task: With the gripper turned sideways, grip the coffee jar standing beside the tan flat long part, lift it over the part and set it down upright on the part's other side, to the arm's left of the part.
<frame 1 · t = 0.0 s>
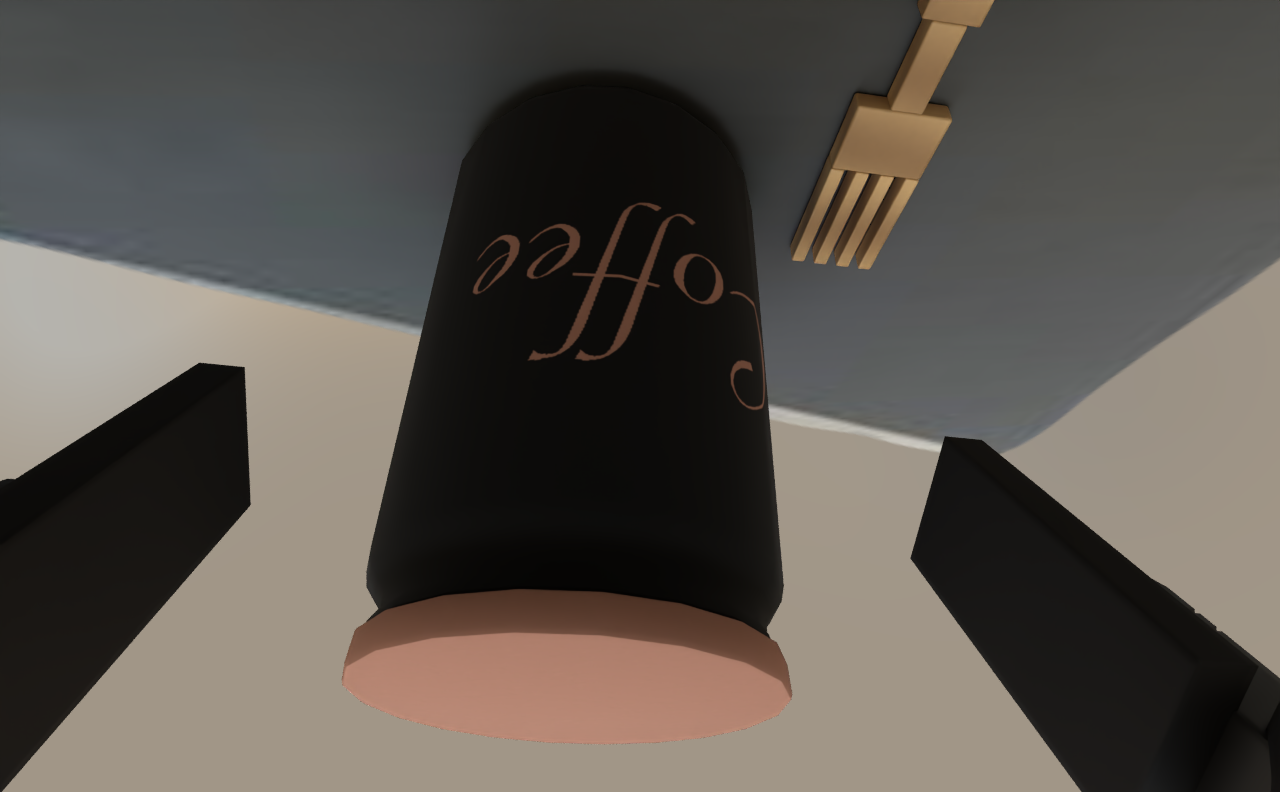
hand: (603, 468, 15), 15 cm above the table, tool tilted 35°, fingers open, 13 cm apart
coffee jar: (605, 193, 29), on the table
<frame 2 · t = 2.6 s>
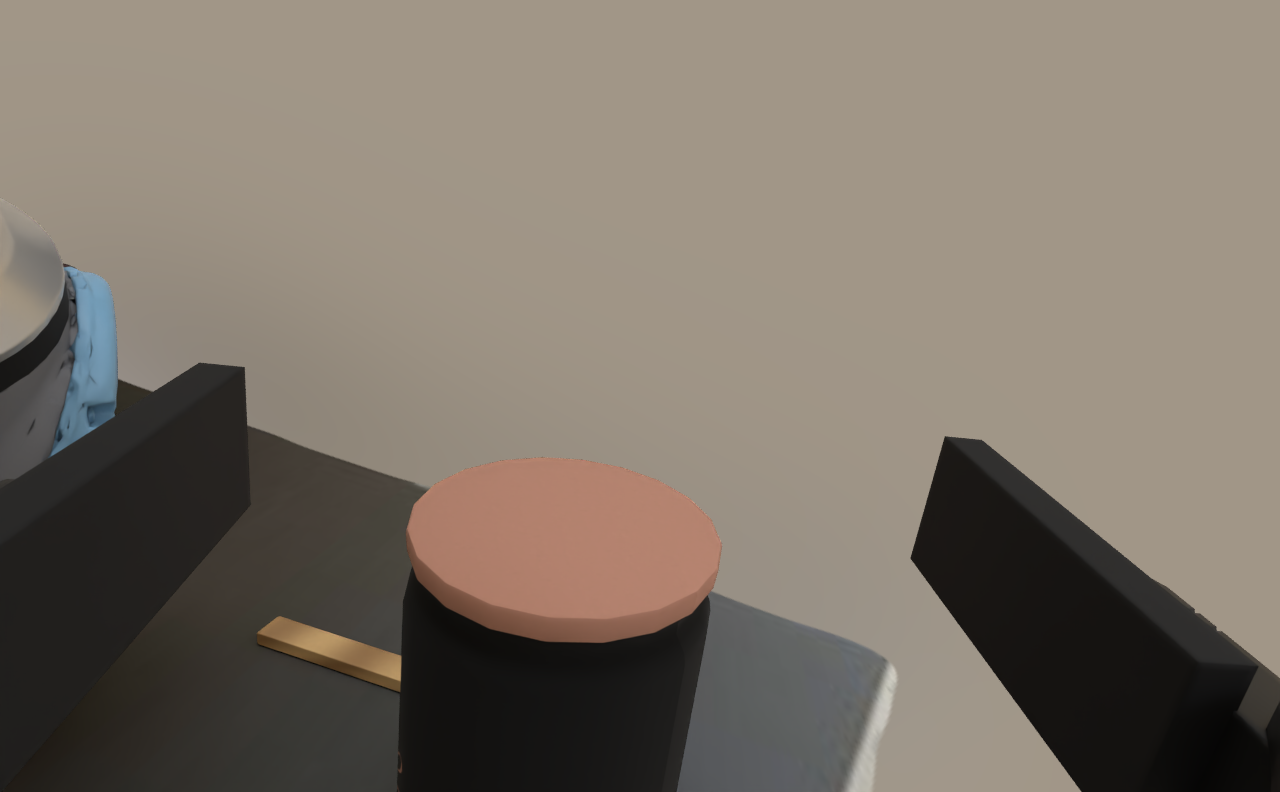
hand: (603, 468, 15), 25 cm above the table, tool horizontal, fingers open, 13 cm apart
tan flat long part: (434, 691, 43), on the table
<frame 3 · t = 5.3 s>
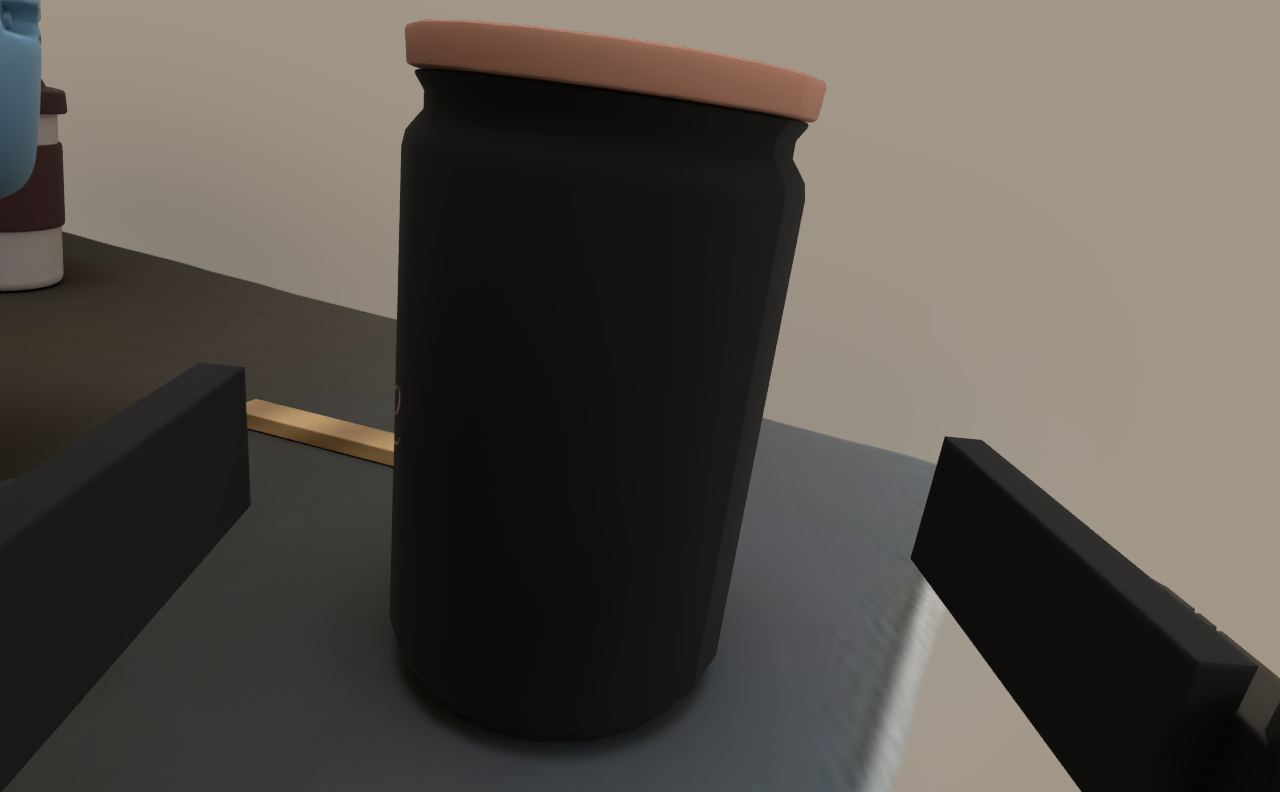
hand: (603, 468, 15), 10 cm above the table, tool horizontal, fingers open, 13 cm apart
coffee cup: (1, 283, 55), on the table
coffee jar: (555, 641, 26), on the table
tan flat long part: (438, 468, 36), on the table
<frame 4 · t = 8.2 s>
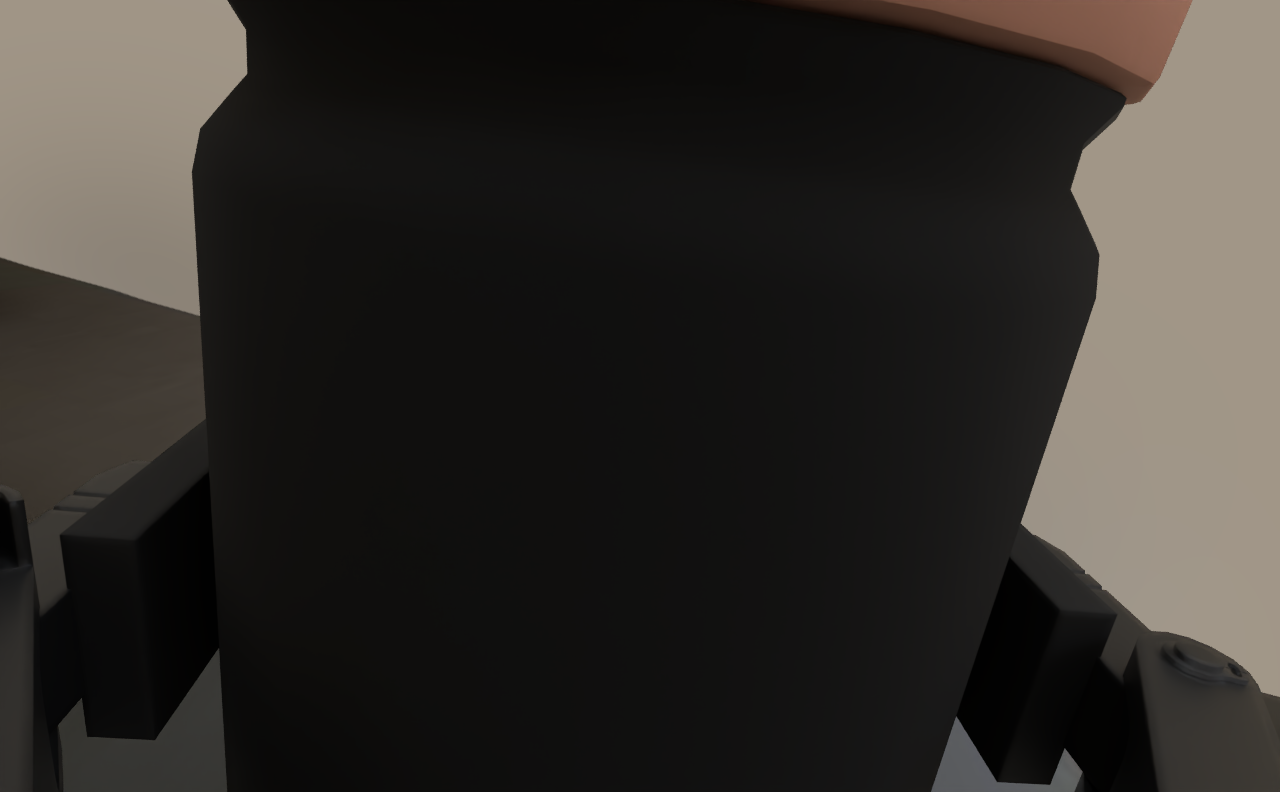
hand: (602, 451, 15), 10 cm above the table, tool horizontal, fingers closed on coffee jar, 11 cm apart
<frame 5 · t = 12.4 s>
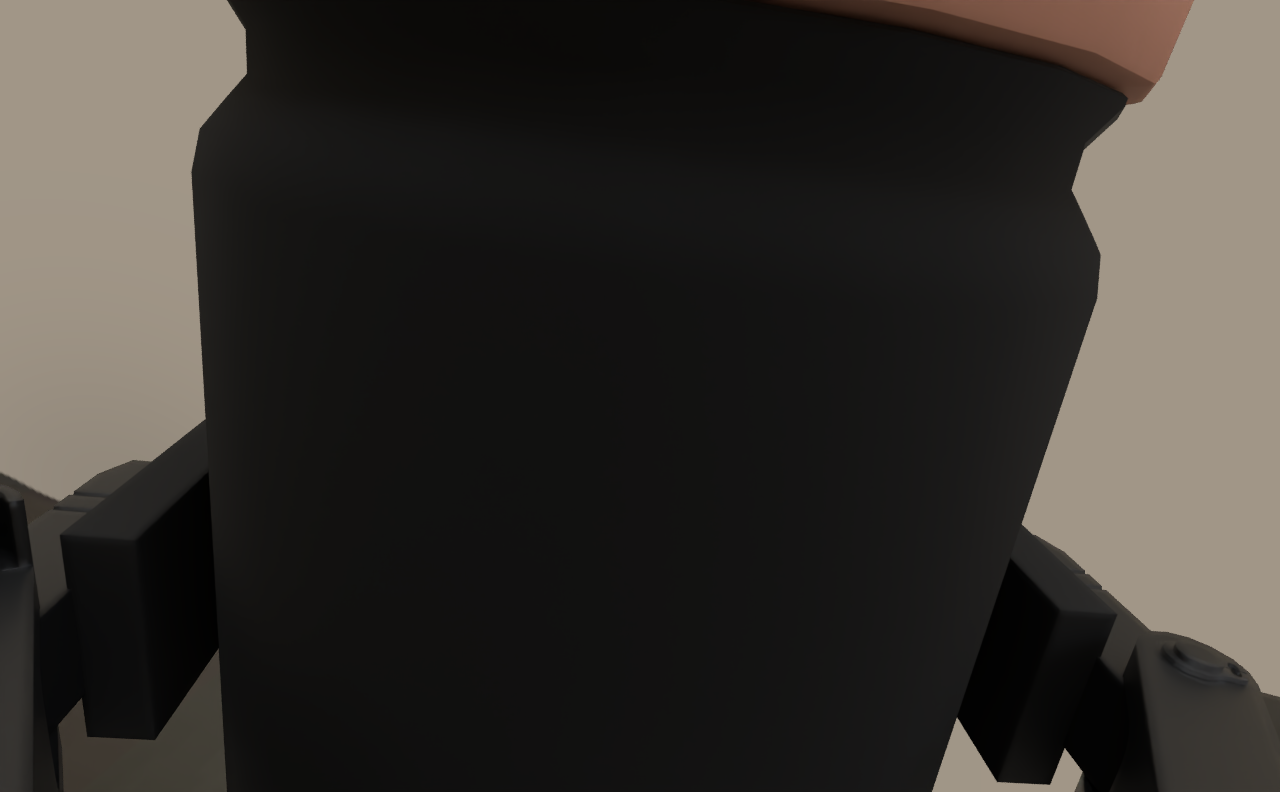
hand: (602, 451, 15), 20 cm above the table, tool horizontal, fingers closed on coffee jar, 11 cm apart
when the fingers open (10 cm above the table, at t = 17.0 s): coffee jar stays where it is, on the table.
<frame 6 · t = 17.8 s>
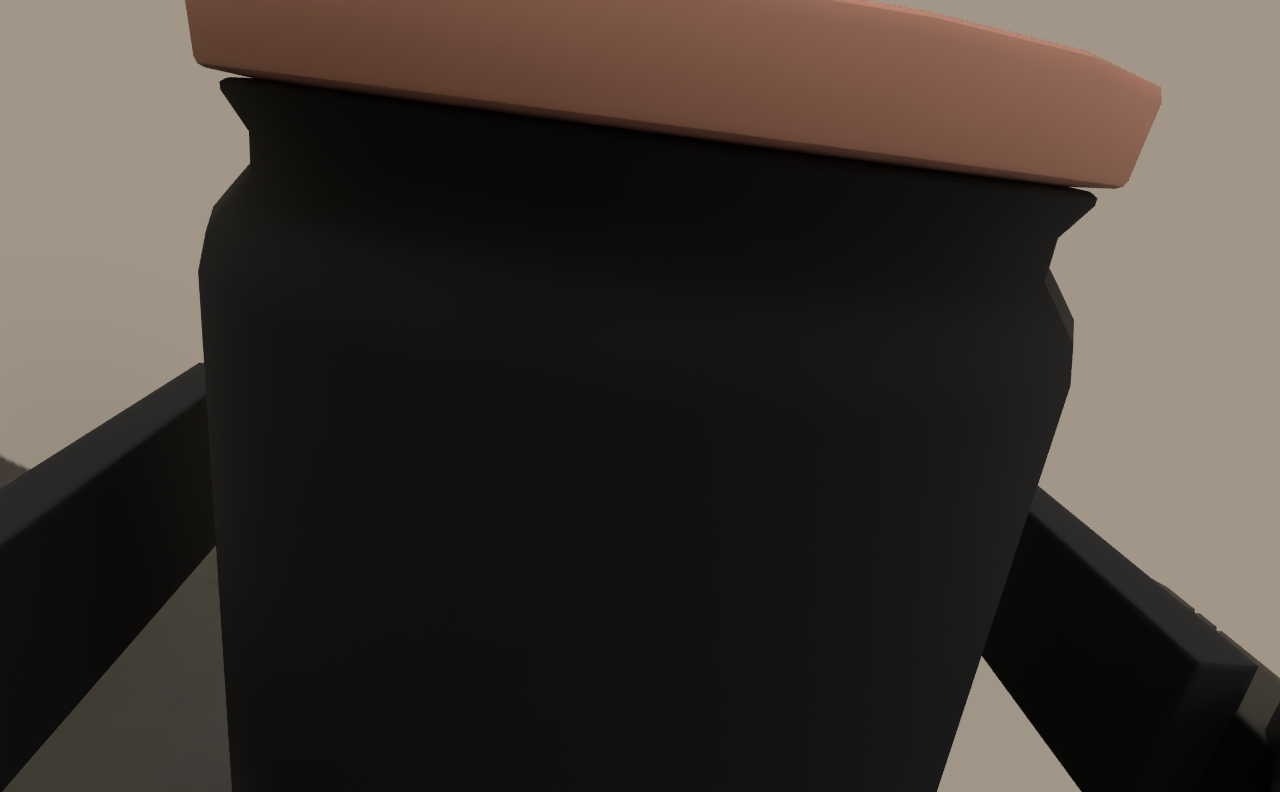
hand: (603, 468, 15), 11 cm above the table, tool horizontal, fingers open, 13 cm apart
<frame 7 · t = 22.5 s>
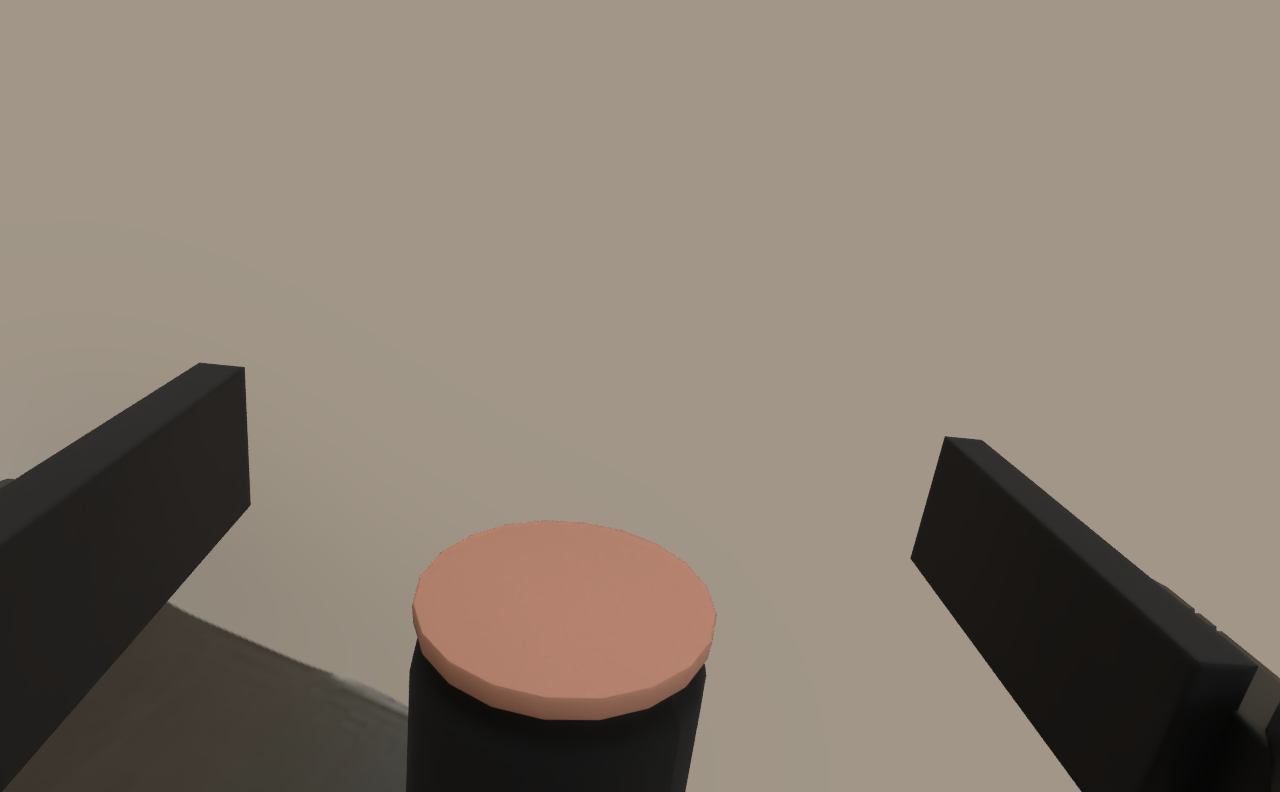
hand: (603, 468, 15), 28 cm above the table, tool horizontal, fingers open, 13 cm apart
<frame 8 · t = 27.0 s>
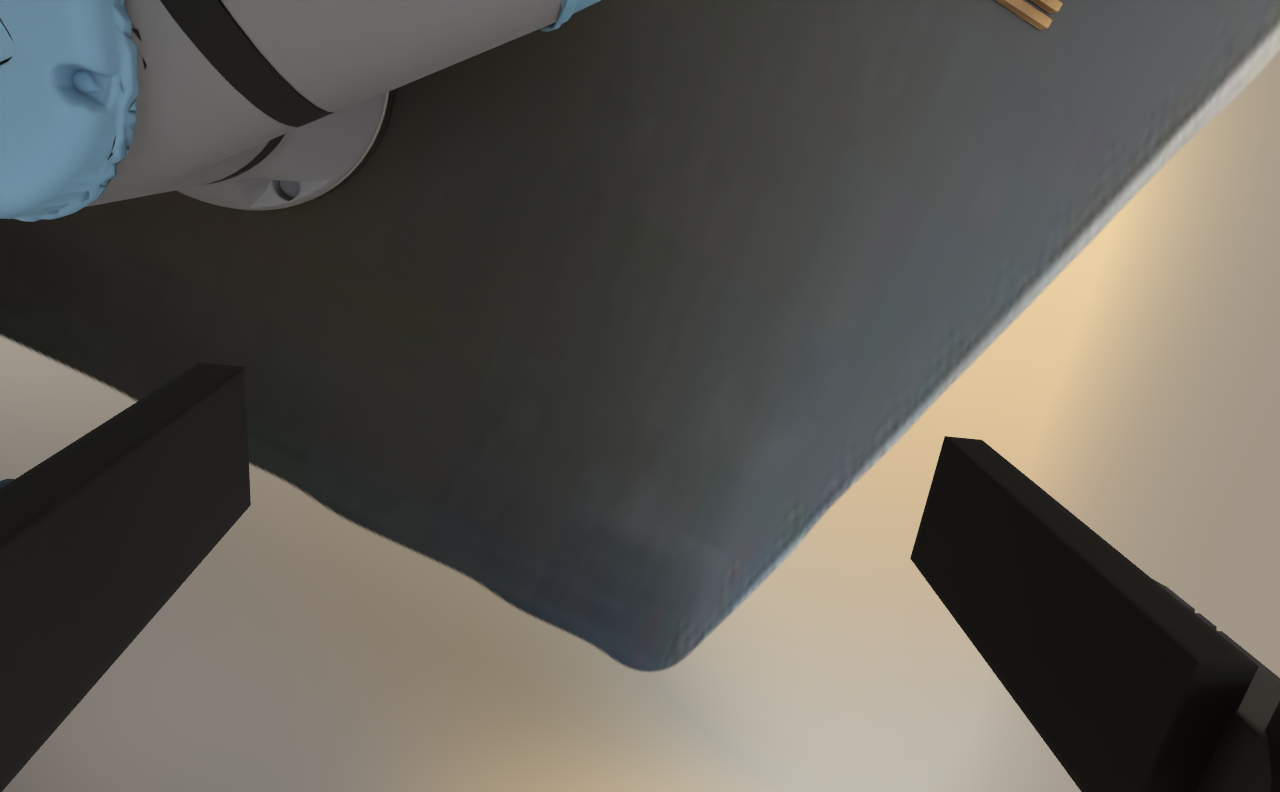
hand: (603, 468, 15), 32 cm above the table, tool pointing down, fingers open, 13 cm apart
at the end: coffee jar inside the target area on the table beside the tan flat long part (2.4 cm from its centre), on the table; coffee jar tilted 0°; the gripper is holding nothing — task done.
